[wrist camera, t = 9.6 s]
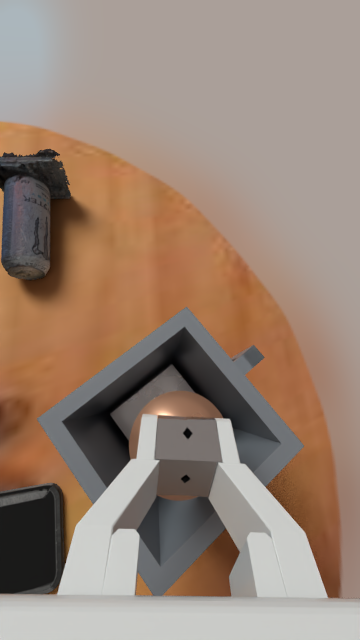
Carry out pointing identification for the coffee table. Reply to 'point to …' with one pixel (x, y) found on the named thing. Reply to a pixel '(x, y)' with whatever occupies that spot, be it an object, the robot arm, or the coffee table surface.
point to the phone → (31, 539)
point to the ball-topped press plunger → (161, 409)
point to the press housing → (113, 446)
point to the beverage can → (29, 210)
